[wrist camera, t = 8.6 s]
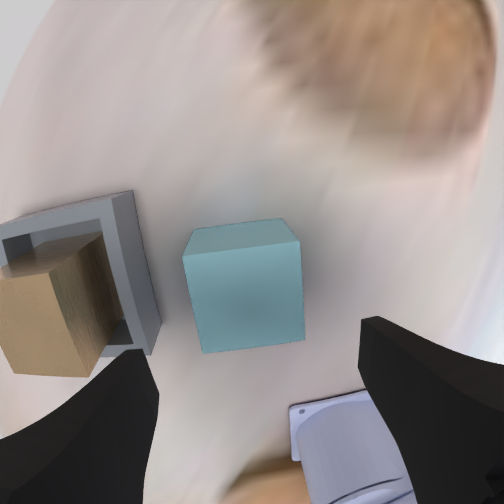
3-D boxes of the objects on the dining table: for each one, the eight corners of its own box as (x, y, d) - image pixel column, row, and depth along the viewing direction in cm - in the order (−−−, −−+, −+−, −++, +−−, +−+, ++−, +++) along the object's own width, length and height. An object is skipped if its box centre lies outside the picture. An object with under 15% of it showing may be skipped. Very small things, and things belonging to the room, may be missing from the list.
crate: (132, 190, 17) (111, 198, 13) (161, 323, 19) (151, 355, 16) (21, 216, 16) (-10, 228, 13) (56, 330, 19) (34, 356, 16)
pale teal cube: (280, 217, 18) (299, 240, 13) (287, 296, 19) (305, 339, 15) (194, 229, 18) (181, 256, 13) (208, 306, 19) (202, 353, 14)
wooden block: (108, 229, 17) (48, 272, 10) (128, 307, 18) (88, 377, 12) (43, 242, 17) (-25, 283, 10) (65, 312, 18) (14, 373, 11)
